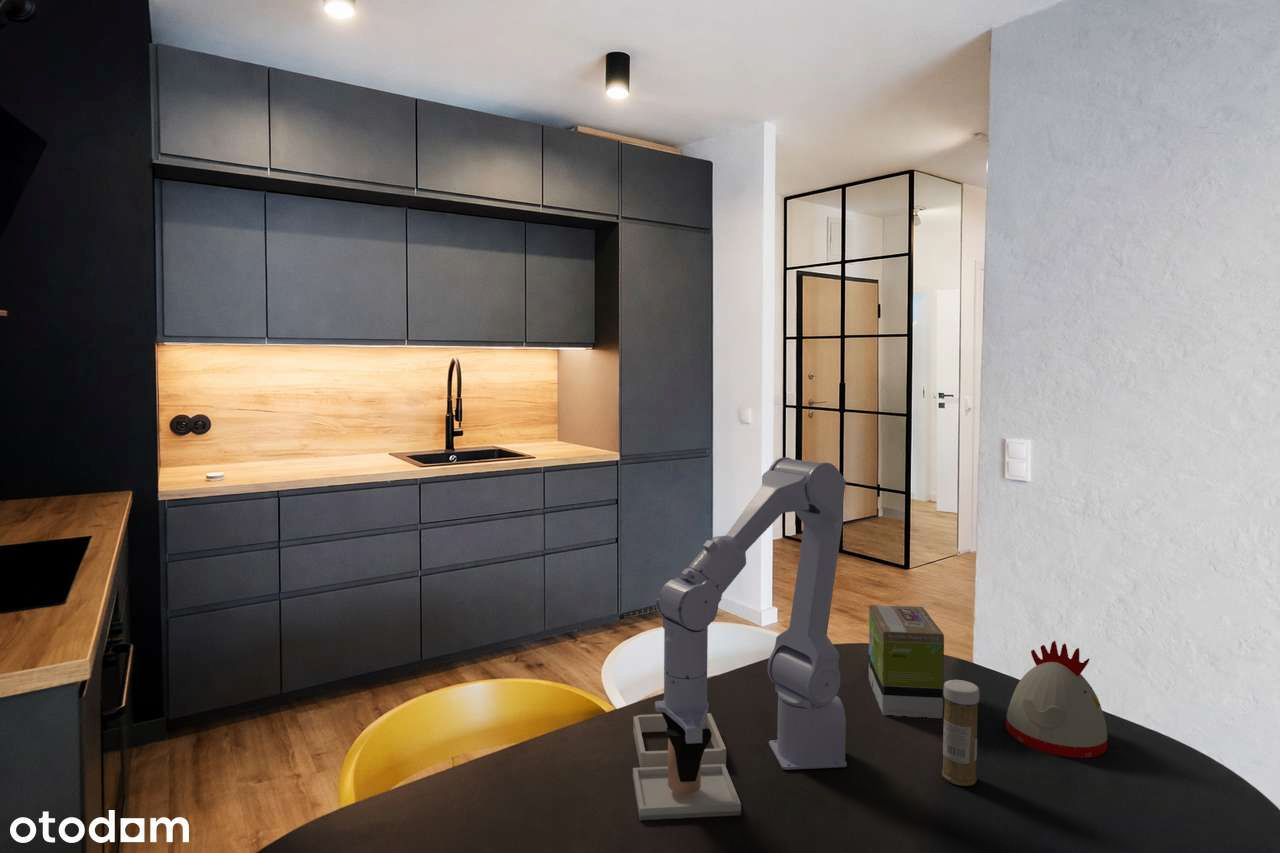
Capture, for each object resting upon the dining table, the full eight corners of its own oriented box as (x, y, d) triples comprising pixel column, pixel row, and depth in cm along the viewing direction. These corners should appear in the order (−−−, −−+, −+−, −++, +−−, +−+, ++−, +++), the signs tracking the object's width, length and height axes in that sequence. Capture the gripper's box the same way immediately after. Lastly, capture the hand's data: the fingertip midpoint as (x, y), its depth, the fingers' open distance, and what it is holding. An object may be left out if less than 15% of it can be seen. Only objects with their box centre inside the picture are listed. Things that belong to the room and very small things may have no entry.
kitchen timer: (1088, 768, 107) (1093, 666, 106) (991, 733, 118) (995, 641, 117) (1119, 737, 116) (1123, 644, 116) (1026, 708, 127) (1030, 622, 126)
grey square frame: (710, 727, 119) (710, 712, 119) (726, 767, 107) (726, 750, 106) (633, 730, 118) (633, 715, 118) (640, 771, 105) (640, 754, 105)
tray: (724, 774, 105) (724, 763, 105) (740, 815, 95) (740, 803, 95) (632, 778, 104) (632, 767, 103) (639, 820, 94) (639, 808, 94)
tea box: (866, 680, 138) (868, 602, 137) (922, 684, 137) (924, 605, 136) (881, 716, 123) (883, 629, 123) (944, 720, 122) (947, 632, 121)
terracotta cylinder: (697, 775, 101) (698, 732, 101) (703, 792, 97) (703, 748, 97) (665, 776, 101) (666, 733, 101) (670, 794, 97) (670, 749, 96)
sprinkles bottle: (983, 781, 103) (986, 686, 103) (963, 791, 101) (966, 694, 100) (953, 767, 107) (956, 675, 106) (934, 776, 105) (936, 682, 104)
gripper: (649, 651, 105) (648, 745, 106) (662, 694, 91) (661, 802, 91) (698, 650, 106) (697, 743, 106) (719, 692, 91) (718, 799, 92)
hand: (684, 770), depth 99 cm, fingers closed on terracotta cylinder, 4 cm apart
